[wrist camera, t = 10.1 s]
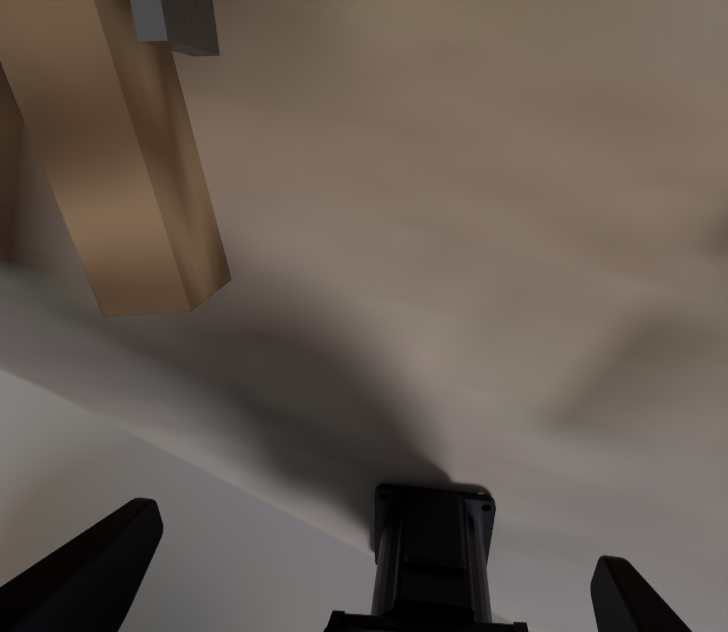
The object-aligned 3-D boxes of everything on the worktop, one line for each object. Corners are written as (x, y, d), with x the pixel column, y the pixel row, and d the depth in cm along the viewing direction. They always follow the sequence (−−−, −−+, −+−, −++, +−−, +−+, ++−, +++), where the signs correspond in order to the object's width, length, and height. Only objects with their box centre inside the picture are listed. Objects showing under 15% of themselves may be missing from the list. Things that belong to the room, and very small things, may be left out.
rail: (39, -77, 16) (-79, -135, 12) (135, -103, 15) (40, -172, 11) (159, 282, 21) (103, 316, 18) (233, 277, 21) (190, 311, 17)
